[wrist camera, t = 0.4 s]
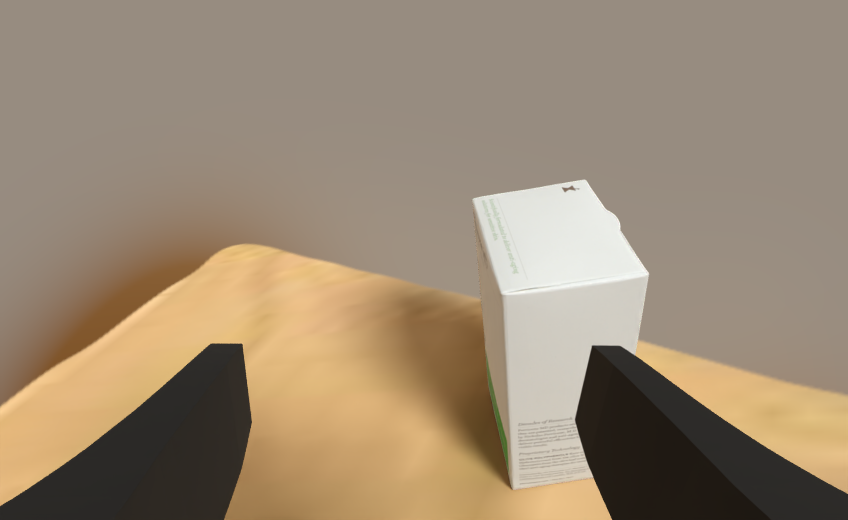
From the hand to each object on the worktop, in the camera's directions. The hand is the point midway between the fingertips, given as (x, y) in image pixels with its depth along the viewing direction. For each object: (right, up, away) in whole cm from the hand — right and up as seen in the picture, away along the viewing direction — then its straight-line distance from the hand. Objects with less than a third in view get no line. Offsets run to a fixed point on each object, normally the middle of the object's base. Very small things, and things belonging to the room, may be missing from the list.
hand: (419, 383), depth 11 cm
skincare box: (+8, -8, +23) cm, 26 cm away
